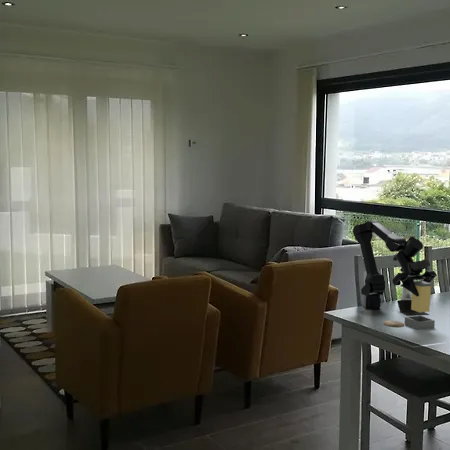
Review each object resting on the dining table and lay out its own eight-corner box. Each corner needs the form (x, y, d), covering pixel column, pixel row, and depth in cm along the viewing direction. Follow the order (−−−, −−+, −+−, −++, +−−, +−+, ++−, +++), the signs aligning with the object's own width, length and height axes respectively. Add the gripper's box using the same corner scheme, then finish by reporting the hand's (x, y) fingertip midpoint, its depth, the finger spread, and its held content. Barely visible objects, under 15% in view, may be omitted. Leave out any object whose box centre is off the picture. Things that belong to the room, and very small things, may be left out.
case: (391, 319, 255) (391, 311, 255) (407, 318, 258) (407, 310, 258) (418, 330, 240) (418, 322, 239) (434, 328, 243) (434, 320, 243)
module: (411, 309, 246) (412, 281, 244) (420, 308, 248) (422, 280, 246) (419, 312, 241) (421, 284, 240) (429, 311, 243) (431, 283, 242)
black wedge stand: (410, 315, 258) (404, 293, 263) (400, 321, 263) (394, 300, 269) (431, 316, 262) (425, 295, 267) (421, 323, 268) (415, 302, 273)
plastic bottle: (416, 307, 278) (418, 264, 275) (412, 310, 272) (414, 266, 269) (402, 304, 281) (404, 262, 279) (398, 307, 275) (400, 264, 273)
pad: (386, 328, 242) (386, 325, 242) (381, 322, 250) (381, 320, 250) (406, 328, 243) (406, 326, 242) (400, 323, 250) (400, 320, 250)
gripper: (398, 253, 241) (415, 286, 233) (435, 251, 249) (452, 283, 240) (385, 268, 250) (400, 301, 241) (420, 266, 257) (437, 297, 248)
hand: (423, 295), depth 242 cm, fingers closed on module, 5 cm apart
